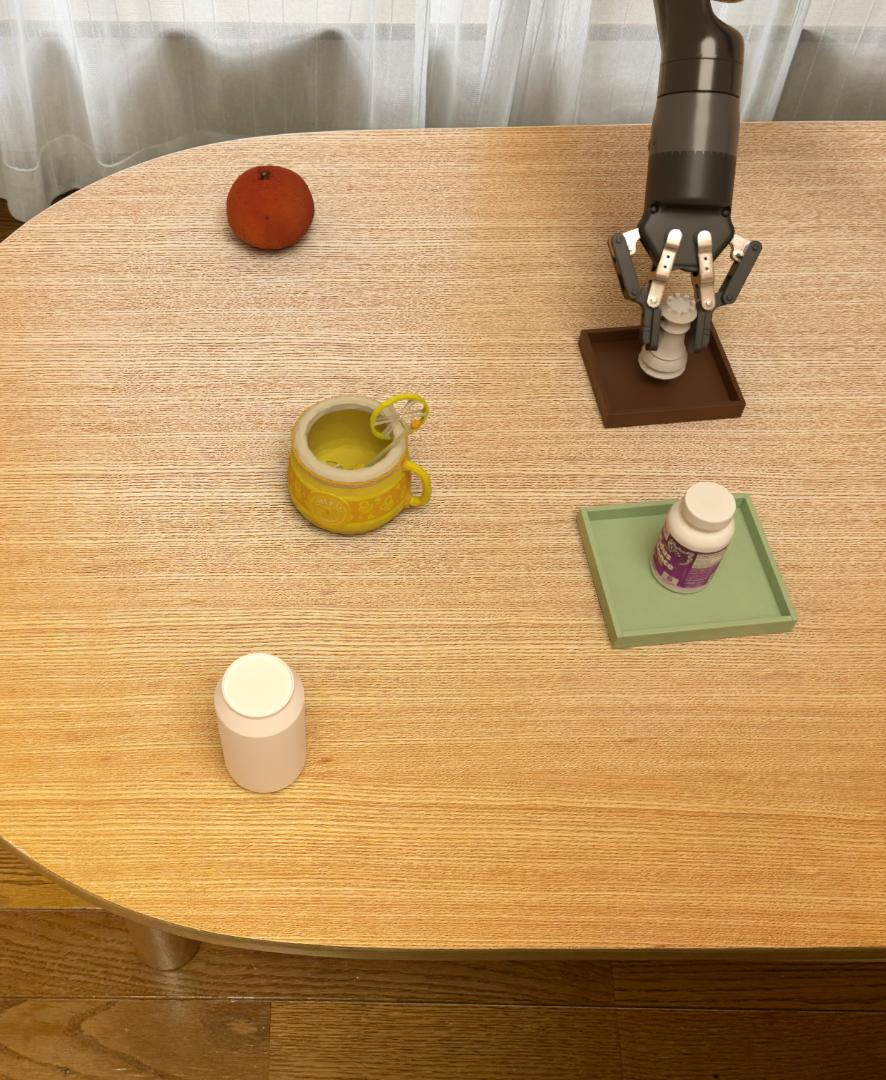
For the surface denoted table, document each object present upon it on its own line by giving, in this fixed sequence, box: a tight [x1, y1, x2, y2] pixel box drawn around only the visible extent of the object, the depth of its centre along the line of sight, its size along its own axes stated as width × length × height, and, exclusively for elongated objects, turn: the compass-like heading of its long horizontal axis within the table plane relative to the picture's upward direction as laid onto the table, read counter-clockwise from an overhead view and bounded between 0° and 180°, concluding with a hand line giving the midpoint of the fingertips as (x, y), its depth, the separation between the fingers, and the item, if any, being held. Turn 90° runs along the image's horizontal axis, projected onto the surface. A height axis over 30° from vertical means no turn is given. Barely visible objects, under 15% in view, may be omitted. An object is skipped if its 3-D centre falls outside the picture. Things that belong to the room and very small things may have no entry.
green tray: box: [576, 492, 799, 650], centre depth 98 cm, size 15×13×2 cm
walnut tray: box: [577, 321, 747, 429], centre depth 111 cm, size 13×11×2 cm
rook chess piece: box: [638, 292, 697, 380], centre depth 107 cm, size 4×4×8 cm
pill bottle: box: [650, 481, 736, 593], centre depth 95 cm, size 5×5×10 cm
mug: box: [286, 392, 433, 535], centre depth 98 cm, size 13×11×12 cm
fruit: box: [225, 164, 316, 250], centre depth 120 cm, size 9×9×8 cm
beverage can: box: [213, 652, 308, 794], centre depth 84 cm, size 6×6×12 cm
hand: (673, 350), depth 106 cm, fingers closed on rook chess piece, 3 cm apart
